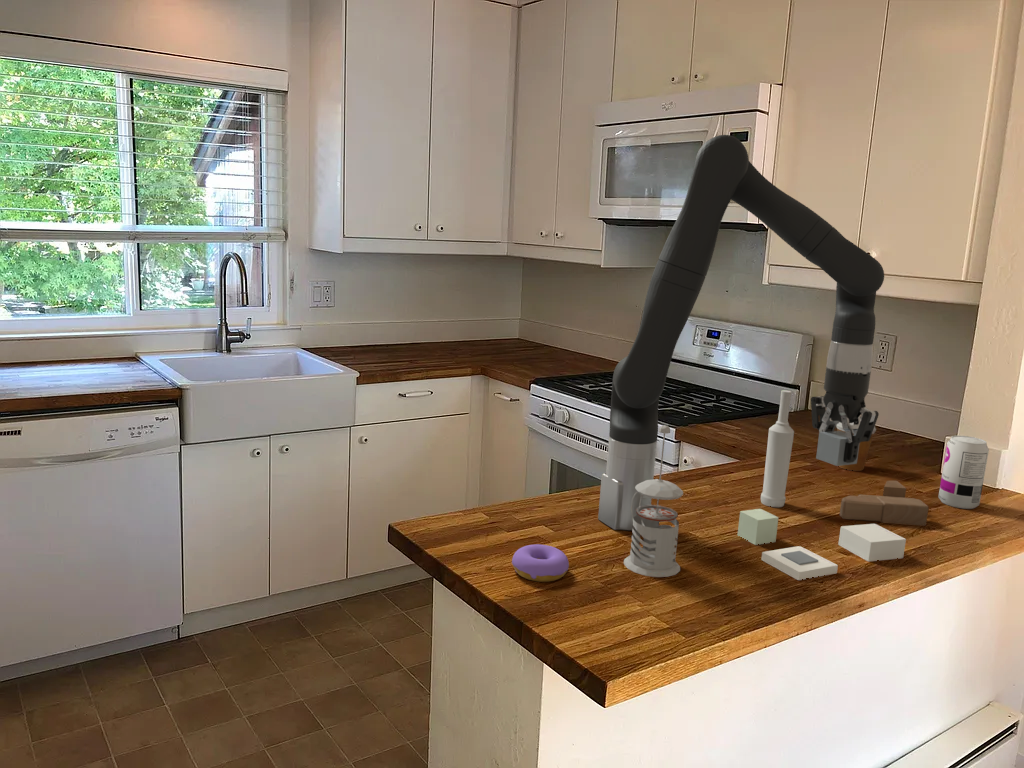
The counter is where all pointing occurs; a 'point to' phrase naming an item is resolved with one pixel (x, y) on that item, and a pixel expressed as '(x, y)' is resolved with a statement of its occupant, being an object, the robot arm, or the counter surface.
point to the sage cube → (757, 526)
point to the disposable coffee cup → (861, 454)
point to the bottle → (778, 456)
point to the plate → (799, 562)
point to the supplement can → (963, 472)
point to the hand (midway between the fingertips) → (837, 457)
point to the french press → (655, 528)
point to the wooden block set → (885, 507)
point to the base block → (872, 542)
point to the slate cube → (833, 448)
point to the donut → (540, 563)
